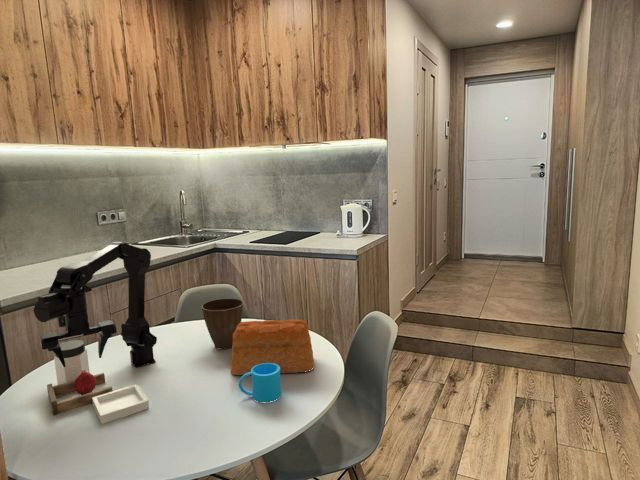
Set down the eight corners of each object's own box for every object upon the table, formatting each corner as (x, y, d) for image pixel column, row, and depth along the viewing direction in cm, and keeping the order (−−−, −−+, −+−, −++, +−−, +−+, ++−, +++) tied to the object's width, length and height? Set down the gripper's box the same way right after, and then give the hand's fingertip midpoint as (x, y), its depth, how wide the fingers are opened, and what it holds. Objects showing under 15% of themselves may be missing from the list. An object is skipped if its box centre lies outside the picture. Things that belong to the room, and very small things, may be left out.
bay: (104, 381, 136) (103, 369, 135) (113, 397, 126) (111, 384, 125) (48, 397, 127) (46, 384, 126) (53, 415, 117) (51, 402, 116)
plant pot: (196, 348, 160) (192, 306, 157) (226, 335, 172) (223, 296, 169) (224, 357, 151) (221, 313, 149) (253, 342, 163) (251, 301, 161)
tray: (137, 391, 129) (136, 384, 129) (149, 408, 120) (148, 400, 119) (92, 405, 122) (92, 397, 122) (101, 424, 113) (100, 415, 112)
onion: (100, 395, 127) (97, 369, 126) (79, 403, 123) (76, 376, 122) (93, 388, 131) (90, 364, 130) (72, 396, 127) (69, 370, 126)
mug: (281, 388, 129) (280, 362, 127) (280, 402, 121) (279, 375, 119) (240, 390, 128) (239, 364, 127) (237, 405, 120) (235, 377, 119)
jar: (58, 390, 131) (53, 353, 129) (57, 380, 138) (52, 344, 136) (91, 382, 136) (87, 345, 134) (88, 372, 142) (84, 337, 141)
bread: (235, 358, 150) (233, 317, 148) (313, 355, 151) (311, 314, 148) (228, 378, 136) (225, 332, 134) (313, 374, 137) (312, 328, 135)
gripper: (106, 297, 135) (111, 345, 138) (35, 310, 124) (42, 361, 127) (114, 305, 126) (119, 356, 129) (38, 320, 115) (46, 375, 118)
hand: (82, 361), depth 126 cm, fingers open, 9 cm apart
